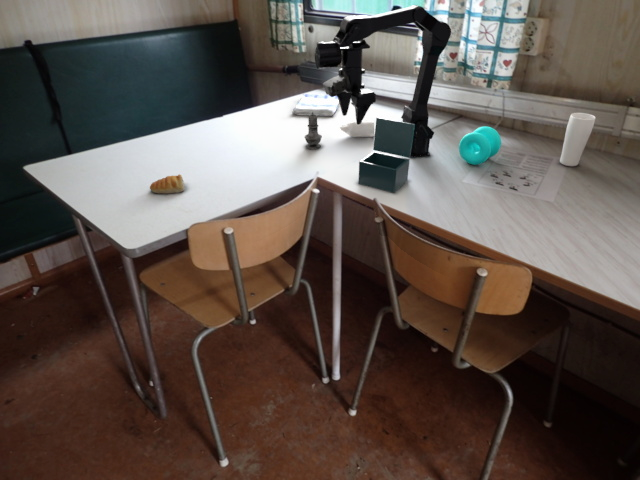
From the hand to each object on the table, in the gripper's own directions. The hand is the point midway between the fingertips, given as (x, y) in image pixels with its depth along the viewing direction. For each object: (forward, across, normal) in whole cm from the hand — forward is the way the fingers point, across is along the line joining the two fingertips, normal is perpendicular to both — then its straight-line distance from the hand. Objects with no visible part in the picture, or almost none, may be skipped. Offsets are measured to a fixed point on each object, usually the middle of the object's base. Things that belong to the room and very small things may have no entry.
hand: (351, 119), depth 138 cm
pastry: (+13, -4, -56) cm, 57 cm away
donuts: (+14, +17, +36) cm, 42 cm away
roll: (+14, -19, +12) cm, 26 cm away
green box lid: (+1, +16, +5) cm, 16 cm away
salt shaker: (+14, -16, -6) cm, 22 cm away
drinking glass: (+14, +31, +60) cm, 69 cm away
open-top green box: (+14, +18, +1) cm, 22 cm away
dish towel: (+14, -56, +13) cm, 59 cm away
